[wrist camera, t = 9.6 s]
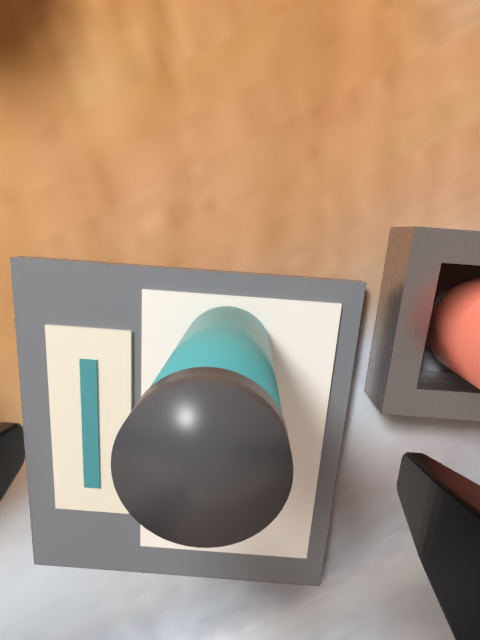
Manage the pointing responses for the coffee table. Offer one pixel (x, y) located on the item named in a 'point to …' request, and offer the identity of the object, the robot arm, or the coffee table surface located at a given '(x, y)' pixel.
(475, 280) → the button
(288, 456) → the marker
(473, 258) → the button housing
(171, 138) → the coffee table surface
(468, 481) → the robot arm
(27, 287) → the drawing board
